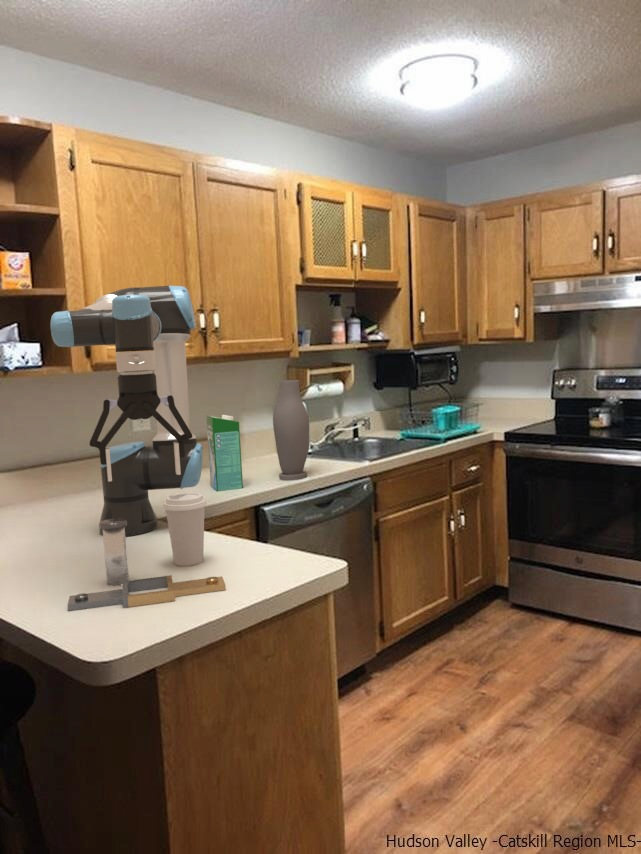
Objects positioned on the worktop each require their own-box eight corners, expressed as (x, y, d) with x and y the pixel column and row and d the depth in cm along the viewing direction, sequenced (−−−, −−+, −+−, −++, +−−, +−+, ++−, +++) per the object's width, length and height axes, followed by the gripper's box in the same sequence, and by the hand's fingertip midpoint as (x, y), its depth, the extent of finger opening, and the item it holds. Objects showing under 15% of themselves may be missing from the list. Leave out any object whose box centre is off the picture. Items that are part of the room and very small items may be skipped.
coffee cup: (191, 552, 165) (187, 490, 163) (218, 559, 159) (214, 494, 157) (158, 563, 158) (153, 498, 156) (186, 571, 152) (181, 503, 150)
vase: (297, 482, 243) (293, 381, 240) (267, 479, 250) (262, 381, 246) (317, 475, 254) (313, 379, 251) (288, 473, 261) (284, 379, 258)
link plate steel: (71, 597, 138) (70, 587, 138) (167, 585, 143) (166, 575, 143) (66, 615, 129) (65, 605, 129) (169, 601, 134) (168, 591, 133)
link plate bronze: (128, 590, 141) (128, 580, 141) (221, 578, 146) (220, 569, 145) (128, 607, 132) (127, 596, 132) (227, 593, 136) (226, 583, 136)
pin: (105, 579, 148) (100, 519, 147) (131, 576, 150) (126, 517, 148) (104, 587, 143) (98, 526, 142) (131, 584, 144) (126, 523, 143)
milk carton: (243, 488, 237) (238, 414, 234) (216, 491, 234) (212, 417, 231) (236, 483, 245) (231, 412, 242) (210, 486, 242) (206, 414, 239)
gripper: (70, 377, 134) (79, 486, 136) (201, 370, 141) (208, 473, 143) (71, 376, 141) (81, 479, 143) (196, 369, 148) (203, 468, 150)
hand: (144, 477), depth 143 cm, fingers open, 13 cm apart
